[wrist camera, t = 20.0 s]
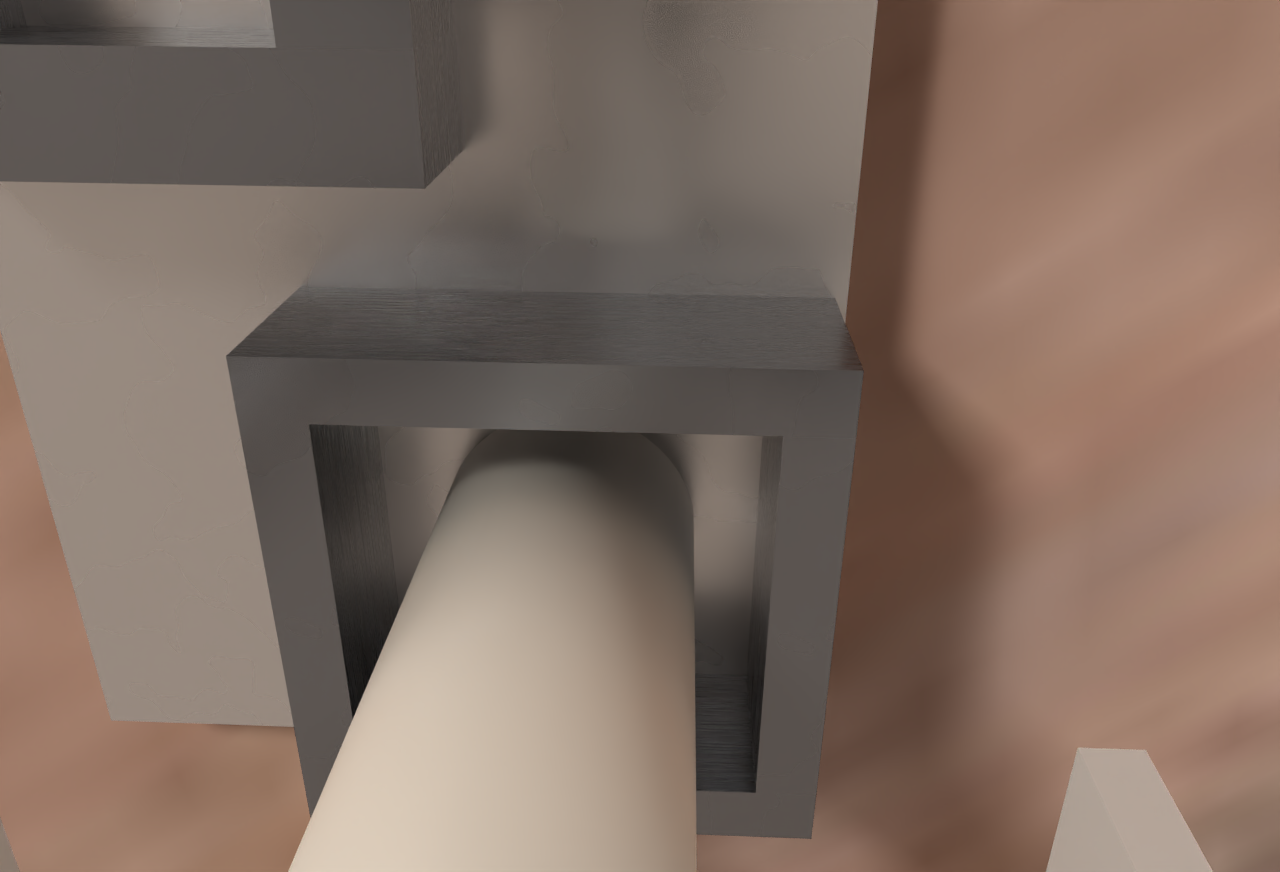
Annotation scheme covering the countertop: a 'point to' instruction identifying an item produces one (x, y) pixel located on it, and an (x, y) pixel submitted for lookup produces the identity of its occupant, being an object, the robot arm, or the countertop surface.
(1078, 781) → the robot arm
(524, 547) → the cream round peg
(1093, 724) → the countertop surface
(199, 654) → the dock
